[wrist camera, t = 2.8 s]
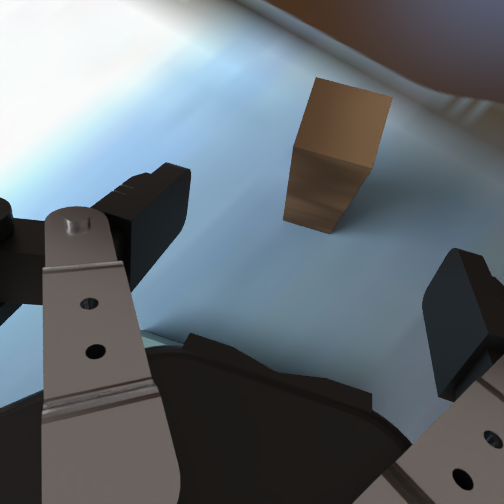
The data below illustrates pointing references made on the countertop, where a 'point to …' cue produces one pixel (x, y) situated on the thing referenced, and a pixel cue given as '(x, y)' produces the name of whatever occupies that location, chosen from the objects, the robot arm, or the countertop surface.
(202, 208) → the countertop surface
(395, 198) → the countertop surface
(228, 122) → the countertop surface
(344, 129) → the tall brown block
